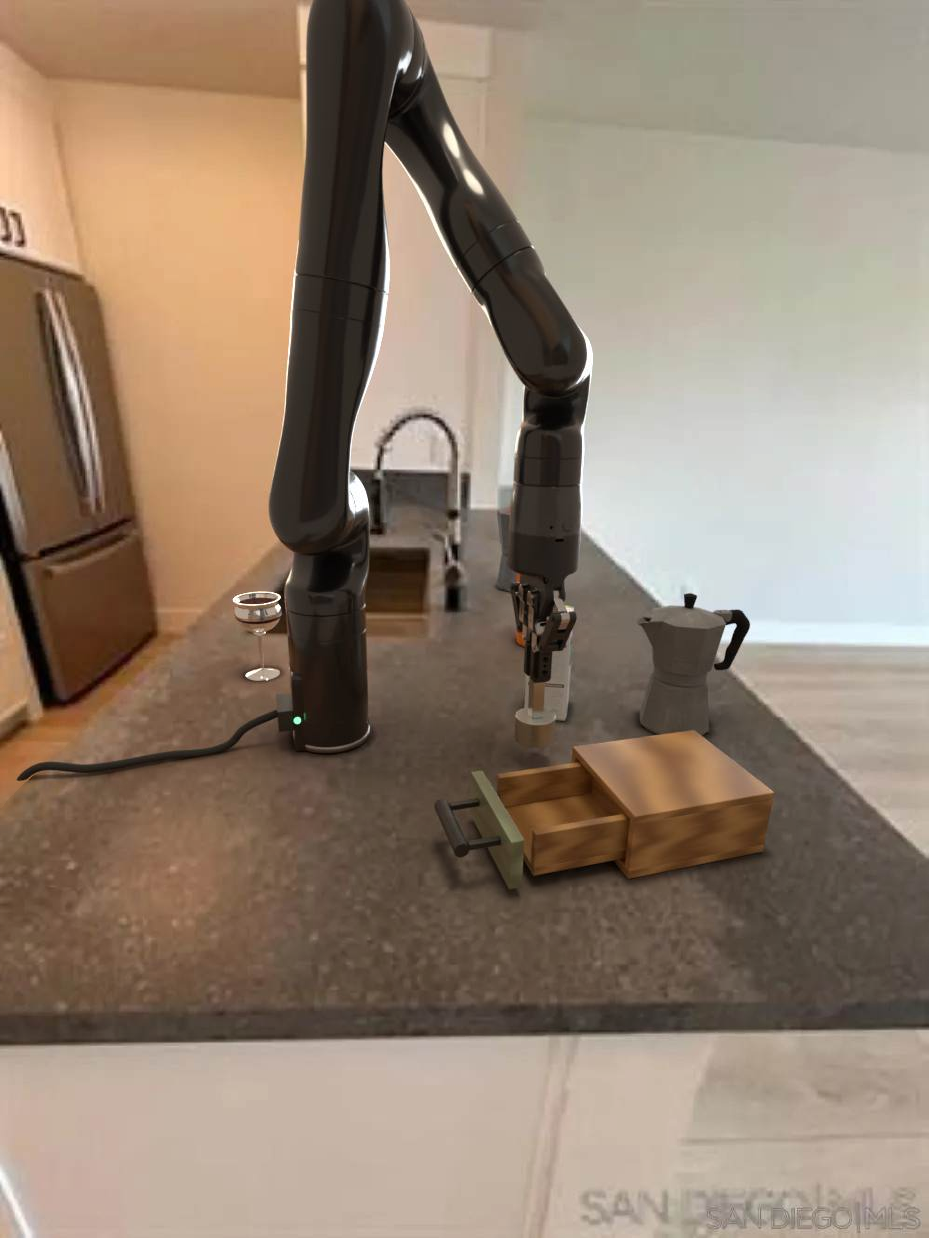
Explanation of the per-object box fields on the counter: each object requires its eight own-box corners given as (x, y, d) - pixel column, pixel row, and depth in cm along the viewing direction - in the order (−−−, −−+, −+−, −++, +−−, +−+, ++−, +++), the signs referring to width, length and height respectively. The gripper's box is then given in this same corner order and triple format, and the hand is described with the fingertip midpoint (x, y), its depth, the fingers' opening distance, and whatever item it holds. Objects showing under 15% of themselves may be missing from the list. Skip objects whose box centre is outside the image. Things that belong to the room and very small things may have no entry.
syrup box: (566, 722, 89) (574, 618, 85) (522, 717, 90) (527, 614, 86) (568, 703, 94) (576, 605, 90) (526, 699, 96) (532, 601, 91)
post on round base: (523, 750, 76) (528, 643, 72) (508, 731, 80) (512, 629, 76) (560, 745, 77) (567, 639, 73) (544, 727, 81) (550, 625, 77)
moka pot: (490, 594, 144) (493, 501, 138) (498, 576, 159) (502, 491, 152) (534, 597, 143) (540, 503, 136) (539, 579, 157) (544, 493, 151)
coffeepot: (642, 744, 84) (658, 607, 78) (612, 710, 93) (625, 584, 87) (753, 735, 87) (777, 602, 81) (714, 703, 95) (733, 581, 90)
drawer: (460, 899, 56) (461, 851, 55) (428, 819, 67) (428, 777, 65) (647, 862, 61) (653, 817, 60) (590, 793, 72) (594, 754, 70)
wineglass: (260, 662, 106) (254, 589, 102) (295, 670, 104) (290, 595, 100) (229, 677, 100) (222, 600, 97) (265, 686, 98) (259, 608, 94)
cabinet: (627, 879, 60) (635, 816, 58) (568, 801, 72) (572, 746, 70) (763, 851, 65) (774, 792, 62) (686, 781, 76) (693, 729, 74)
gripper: (490, 516, 76) (486, 659, 81) (536, 541, 63) (528, 707, 69) (551, 513, 78) (543, 653, 83) (608, 537, 65) (594, 699, 71)
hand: (537, 677), depth 76 cm, fingers closed on post on round base, 1 cm apart
